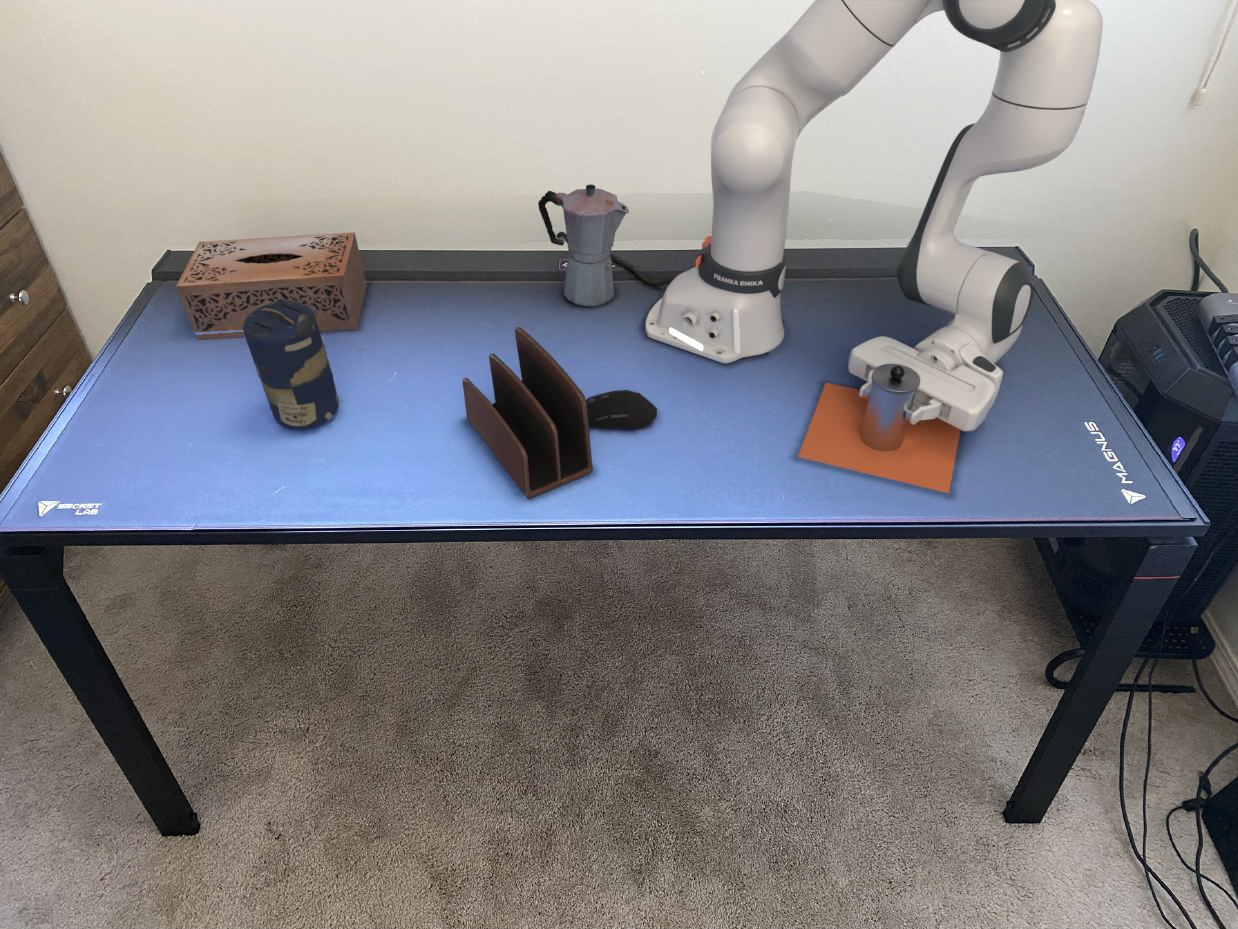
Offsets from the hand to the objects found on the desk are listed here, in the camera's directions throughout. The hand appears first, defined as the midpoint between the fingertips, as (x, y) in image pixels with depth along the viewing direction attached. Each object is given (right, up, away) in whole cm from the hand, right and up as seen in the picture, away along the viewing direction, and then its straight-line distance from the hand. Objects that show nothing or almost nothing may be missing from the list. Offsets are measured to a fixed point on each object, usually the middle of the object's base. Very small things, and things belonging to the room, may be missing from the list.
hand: (886, 406), depth 120 cm
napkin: (+1, -4, +6) cm, 7 cm away
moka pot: (-42, +22, +35) cm, 58 cm away
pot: (+1, -4, +5) cm, 6 cm away
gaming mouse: (-38, -1, +10) cm, 39 cm away
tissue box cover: (-93, +18, +32) cm, 100 cm away
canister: (-82, -1, +11) cm, 82 cm away
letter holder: (-49, -5, +5) cm, 49 cm away
